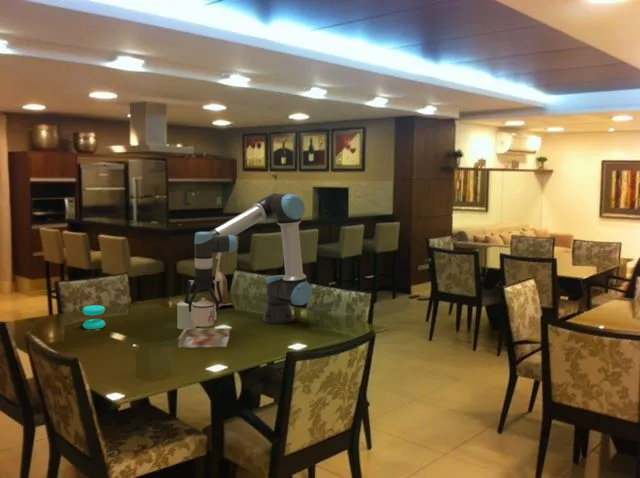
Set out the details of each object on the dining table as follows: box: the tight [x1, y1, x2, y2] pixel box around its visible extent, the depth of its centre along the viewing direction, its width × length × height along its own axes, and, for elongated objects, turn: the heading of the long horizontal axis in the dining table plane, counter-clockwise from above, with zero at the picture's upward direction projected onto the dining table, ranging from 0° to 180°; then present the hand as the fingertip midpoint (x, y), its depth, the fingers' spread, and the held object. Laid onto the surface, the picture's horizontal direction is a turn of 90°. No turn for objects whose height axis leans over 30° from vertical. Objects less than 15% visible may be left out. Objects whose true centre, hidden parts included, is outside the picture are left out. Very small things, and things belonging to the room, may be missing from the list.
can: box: [176, 301, 198, 330], centre depth 291 cm, size 9×9×12 cm
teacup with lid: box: [193, 297, 215, 328], centre depth 262 cm, size 12×9×12 cm
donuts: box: [82, 304, 106, 330], centre depth 289 cm, size 10×10×10 cm
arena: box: [177, 327, 230, 349], centre depth 264 cm, size 20×17×4 cm
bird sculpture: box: [212, 253, 236, 308], centre depth 338 cm, size 11×12×32 cm
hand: (204, 319), depth 263 cm, fingers closed on teacup with lid, 9 cm apart
